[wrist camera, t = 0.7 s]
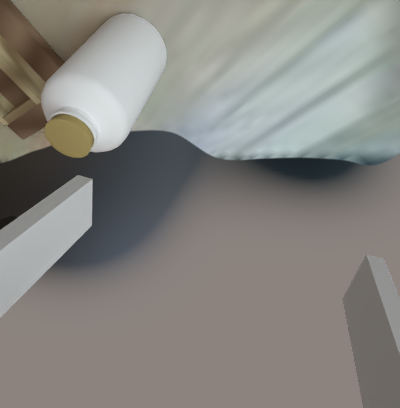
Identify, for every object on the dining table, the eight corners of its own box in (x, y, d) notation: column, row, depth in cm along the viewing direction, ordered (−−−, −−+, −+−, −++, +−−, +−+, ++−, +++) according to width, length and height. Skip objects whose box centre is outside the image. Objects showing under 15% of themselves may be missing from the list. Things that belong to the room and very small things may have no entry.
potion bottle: (89, 42, 41) (4, 129, 29) (128, -8, 36) (45, 74, 24) (140, 92, 45) (83, 187, 33) (183, 53, 40) (133, 149, 28)
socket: (-68, 46, 46) (-93, 61, 43) (-9, -22, 38) (-35, -9, 35) (27, 134, 55) (12, 151, 52) (92, 94, 47) (78, 113, 44)
